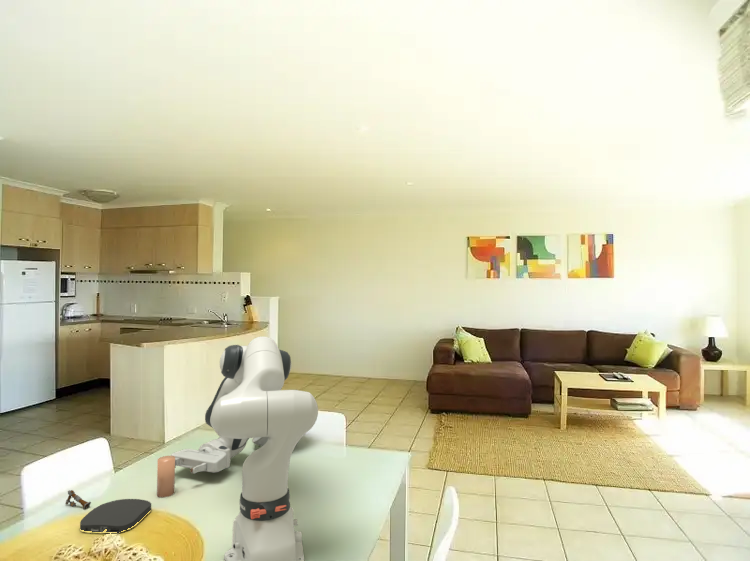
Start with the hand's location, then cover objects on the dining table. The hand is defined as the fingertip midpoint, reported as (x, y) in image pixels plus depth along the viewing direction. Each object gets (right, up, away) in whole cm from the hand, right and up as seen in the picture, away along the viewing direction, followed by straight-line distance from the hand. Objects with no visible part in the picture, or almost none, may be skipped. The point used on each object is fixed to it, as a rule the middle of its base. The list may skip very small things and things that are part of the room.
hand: (180, 468), depth 145 cm
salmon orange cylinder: (-2, -6, -6) cm, 8 cm away
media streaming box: (-8, -6, -21) cm, 24 cm away
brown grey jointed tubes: (-24, -6, -14) cm, 29 cm away
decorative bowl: (+31, -3, +40) cm, 51 cm away
